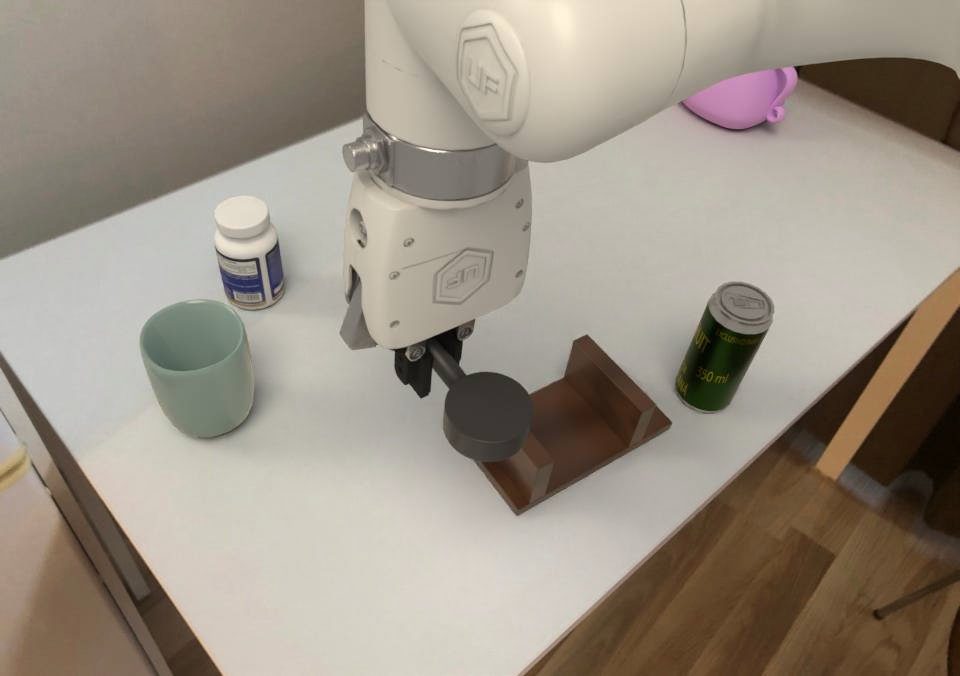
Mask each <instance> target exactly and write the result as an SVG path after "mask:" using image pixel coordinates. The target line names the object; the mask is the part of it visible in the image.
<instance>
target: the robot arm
mask: <svg viewBox="0 0 960 676" xmlns="http://www.w3.org/2000/svg"><path fill="white" fill-rule="evenodd" d="M363 1H364V2H363V3H364V61H365V65H364V66H365V67H364V69H365V70H364V71H365V112H363V113H362V133H361V136H359V137H357V138H356V139H355V140H354V141H352V142H347V143H345V144H343V145H342V157H343V161H344V163H345V165H346V167H347V170H348V171H350V172H351V173H354V175H353V177H352V181H351V186H350V192H349V196H348V201H347V209H346V215H345V223H344V224H345V225H344V232H343V249H342V250H343V251H342V253H343V254H342V258H343V259H342V280H343V293H344V298H345V301H346V303H347V304H348V307H347V310H346V313H345V315H344V318H343V322H342V324H341V327H340V329H339V335H340V338H341V339H342V341H344V343H345V344H346V346H347V347H348V349H349V350H351V351H359V350H367V349H373V348H376V347H377V346H379V347H380V348H381V349H384V350H389V351H393V352H394V365H393V366H394V372H395V375H396V376H397V378H398V380H399V381H400V382H401V383H402V385H404V386H408V385H409V386H411V388H412V390H413V391H414V392H415V394H416V395H417V396H418V398H420V399H424V398H426V397H429V395H430V393H431V390H432V377H433V368H432V364H433V357H432V354H431V353H430V352H429V350H428V349H427V348H426V339H428V338H430V337H433V336H435V337H436V338H437V339H438V340H439V341H440V343H441V344H442V345H443V346H444V348H445V349H446V350H447V351H448V353H449V354H450V355H451V356H452V357H453V359H454V360H455V361H456V362H457V364H458V365H459V366H460V363H461V360H462V353H463V345H464V341H465V340H467V339H468V338H470V337H471V336H472V334H473V333H474V329H475V325H476V319H478V318H481V317H483V316H485V315H487V314H489V313H492V312H494V311H496V310H498V309H500V308H503V307H504V306H506V305H508V304H509V303H511V302H512V301H513V300H515V299H516V298H517V297H518V296H519V295H520V293H521V292H522V290H523V287H524V283H525V280H526V276H527V270H528V263H529V257H530V246H531V238H532V237H531V236H532V224H533V223H532V222H533V221H532V219H533V195H532V181H531V173H530V165H529V164H530V163H529V162H532V163H539V164H540V163H541V164H548V163H549V164H552V163H556V162H561V161H566V160H570V159H572V158H575V157H577V156H579V155H582V154H585V153H587V152H589V151H591V150H592V149H594V148H596V147H598V146H600V145H602V144H604V143H605V142H607V141H611V140H612V139H613V138H616V137H617V136H619V135H621V134H623V133H626V132H627V131H629V130H631V129H632V128H635V127H637V126H639V125H641V124H643V123H645V122H646V121H648V120H649V119H650V118H652V117H654V116H656V115H658V114H660V113H662V112H664V111H666V110H667V109H670V108H671V107H673V106H676V105H677V104H678V103H680V102H681V103H682V102H683V100H685V99H687V98H689V97H691V96H693V95H695V94H697V93H699V92H701V91H703V90H705V89H707V88H709V87H711V86H713V85H715V84H717V83H719V82H721V81H724V80H726V79H730V78H733V77H736V76H740V75H744V74H749V73H754V72H759V71H765V70H772V69H780V68H787V67H800V66H807V65H816V64H824V63H832V62H840V61H852V60H860V59H863V60H864V59H879V58H880V59H881V58H900V59H901V58H907V59H915V60H924V61H929V62H933V63H938V64H941V65H943V66H945V67H947V68H950V69H952V70H953V71H954V72H955V73H956V75H957V77H958V80H960V0H363Z"/></svg>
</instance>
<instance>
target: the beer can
mask: <svg viewBox="0 0 960 676" xmlns="http://www.w3.org/2000/svg"><path fill="white" fill-rule="evenodd" d="M774 314H775V304H774V302H773V299H772V298H771V297H770V296H769V295H768V294H767V293H766V292H765V291H764V290H763V289H761V288H760V287H758V286H756V285H754V284H752V283H748V282H744V281H729V282H724V283H722V284H720V285H719V286H718V287H717V289H716V291H715V292H714V293H712V294H711V296H710V297H709V299H708V301H707V304H706V306H705V308H704V311H703V313H702V315H701V318H700V319H699V323H698V324H697V326H696V330H695V332H694V335H693V337H692V338H691V341H690V344H689V346H688V348H687V350H686V353H685V356H684V358H683V360H682V363H681V365H680V367H679V370H678V371H677V374H676V377H675V384H674V385H675V390H676V393H677V396H678V398H679V400H680V401H681V402H682V404H684V405H685V406H686V407H687V408H688V409H690V410H693V411H695V412H697V413H702V414H714V413H718V412H721V411H722V410H724V409H725V408H727V407H728V406H730V405H731V402H732V401H733V399H734V398H735V395H736V393H737V391H738V390H739V387H740V385H741V383H742V381H743V380H744V377H745V376H746V374H747V372H748V370H749V368H750V367H751V364H752V363H753V361H754V359H755V357H756V355H757V353H758V351H759V349H760V348H761V345H762V343H763V341H764V340H765V337H766V336H767V334H768V332H769V331H770V327H771V326H772V324H773V322H774Z"/></svg>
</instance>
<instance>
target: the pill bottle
mask: <svg viewBox="0 0 960 676" xmlns="http://www.w3.org/2000/svg"><path fill="white" fill-rule="evenodd" d="M214 221H215V225H216V226H215V227H216V229H215V231H214V234H213V244H214V250H215V254H216V259H217V263H218V267H219V273H220V277H221V281H222V286H223V290H224V294H225V297H226V299H227V300H228V301H229V302H230V303H231V304H232V305H233V306H235V307H238V308H239V309H243V310H249V311H254V310H255V311H256V310H263V309H265V308H268V307H272V305H274V304H276V302H278V301H279V300H280V299H281V298H282V296H284V295H283V294H284V292H285V289H286V283H285V275H284V269H283V262H282V254H281V249H280V248H281V247H280V241H279V235H278V231H277V228H276V227H275V225H274V223H273V222H272V221H271V216H270V211H269V206H268V205H267V203H266V202H265V201H264V200H262V199H261V198H258V197H256V196H252V195H235V196H232V197H229V198H227V199H225V200H223V201H222V202H220V203H219V204H218V205H217V206H216V208H215V210H214Z"/></svg>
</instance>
